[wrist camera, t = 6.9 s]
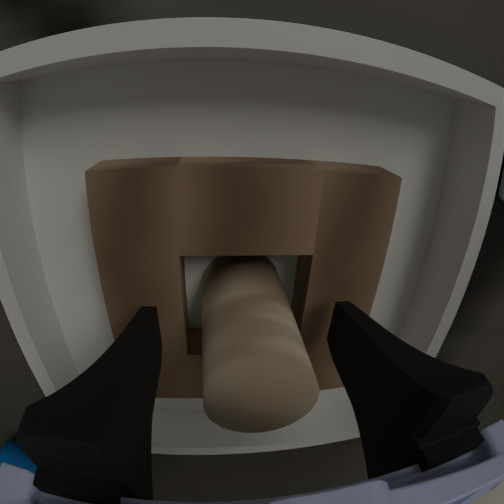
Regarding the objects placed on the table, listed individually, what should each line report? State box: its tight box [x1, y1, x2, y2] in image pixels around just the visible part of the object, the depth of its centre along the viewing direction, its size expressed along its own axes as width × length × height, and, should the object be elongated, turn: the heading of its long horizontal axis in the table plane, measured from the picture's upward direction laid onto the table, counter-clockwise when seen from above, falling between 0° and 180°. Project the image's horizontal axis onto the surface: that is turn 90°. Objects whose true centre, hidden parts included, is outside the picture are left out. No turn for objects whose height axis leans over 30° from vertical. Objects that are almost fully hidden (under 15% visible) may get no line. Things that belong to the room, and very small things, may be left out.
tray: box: [0, 17, 504, 455], centre depth 15 cm, size 22×22×4 cm
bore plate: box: [85, 157, 402, 398], centre depth 15 cm, size 12×12×2 cm
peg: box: [202, 255, 320, 433], centre depth 12 cm, size 4×4×7 cm
